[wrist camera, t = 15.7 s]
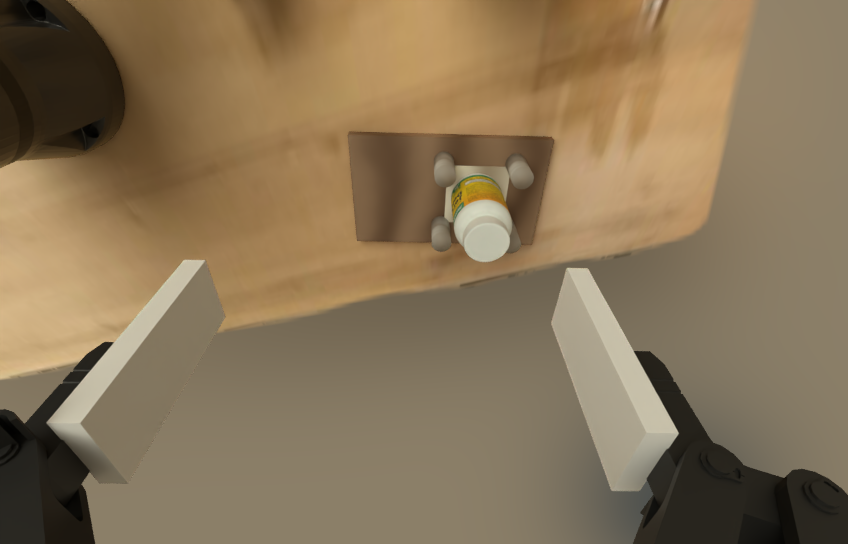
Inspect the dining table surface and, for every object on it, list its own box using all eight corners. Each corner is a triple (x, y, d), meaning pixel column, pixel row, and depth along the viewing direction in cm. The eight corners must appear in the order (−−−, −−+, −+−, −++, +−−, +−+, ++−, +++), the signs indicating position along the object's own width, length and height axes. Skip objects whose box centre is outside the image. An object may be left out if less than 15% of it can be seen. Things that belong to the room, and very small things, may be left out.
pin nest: (358, 236, 47) (351, 260, 43) (349, 131, 40) (341, 149, 36) (529, 240, 48) (539, 264, 44) (551, 136, 40) (565, 154, 36)
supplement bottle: (498, 218, 45) (513, 269, 37) (449, 218, 45) (454, 269, 37) (504, 171, 41) (522, 216, 34) (451, 171, 41) (457, 216, 34)
